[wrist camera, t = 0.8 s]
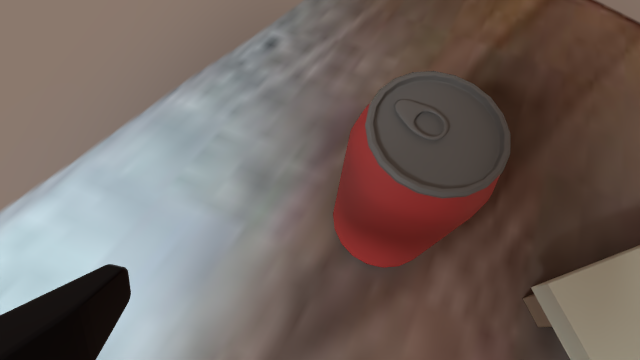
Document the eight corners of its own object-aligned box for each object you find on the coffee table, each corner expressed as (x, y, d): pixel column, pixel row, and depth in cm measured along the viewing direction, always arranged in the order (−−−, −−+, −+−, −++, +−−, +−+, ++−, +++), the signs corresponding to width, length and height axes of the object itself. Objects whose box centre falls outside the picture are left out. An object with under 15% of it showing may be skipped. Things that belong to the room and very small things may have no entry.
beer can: (370, 159, 27) (414, 34, 16) (446, 214, 25) (556, 119, 14) (312, 225, 24) (316, 135, 13) (392, 290, 23) (470, 249, 12)
